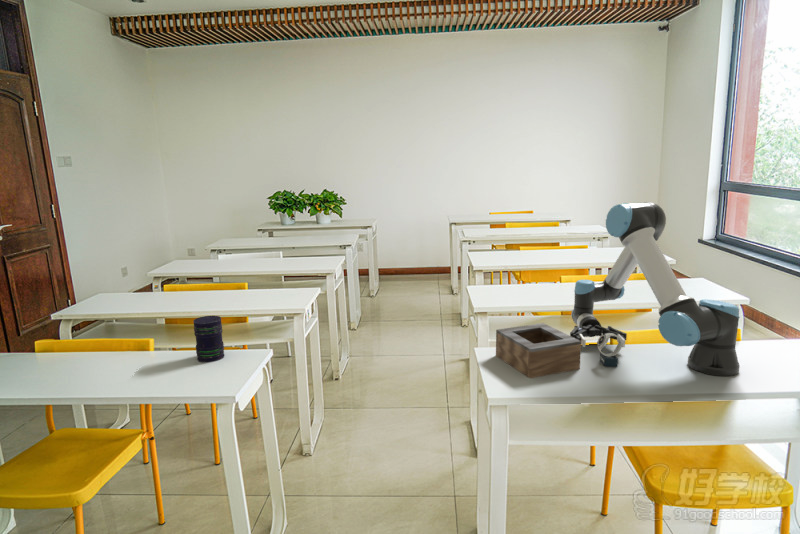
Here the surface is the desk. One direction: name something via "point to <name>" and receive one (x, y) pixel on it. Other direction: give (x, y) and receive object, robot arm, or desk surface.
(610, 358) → the watch
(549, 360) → the box
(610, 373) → the desk surface
